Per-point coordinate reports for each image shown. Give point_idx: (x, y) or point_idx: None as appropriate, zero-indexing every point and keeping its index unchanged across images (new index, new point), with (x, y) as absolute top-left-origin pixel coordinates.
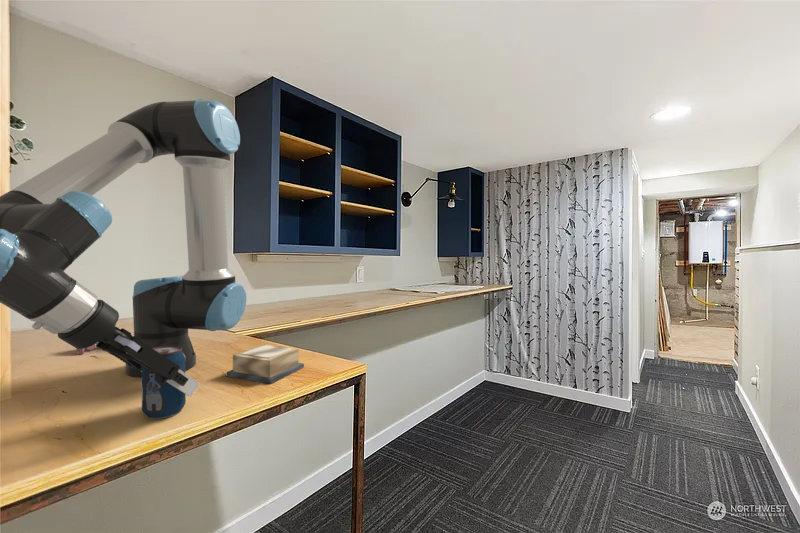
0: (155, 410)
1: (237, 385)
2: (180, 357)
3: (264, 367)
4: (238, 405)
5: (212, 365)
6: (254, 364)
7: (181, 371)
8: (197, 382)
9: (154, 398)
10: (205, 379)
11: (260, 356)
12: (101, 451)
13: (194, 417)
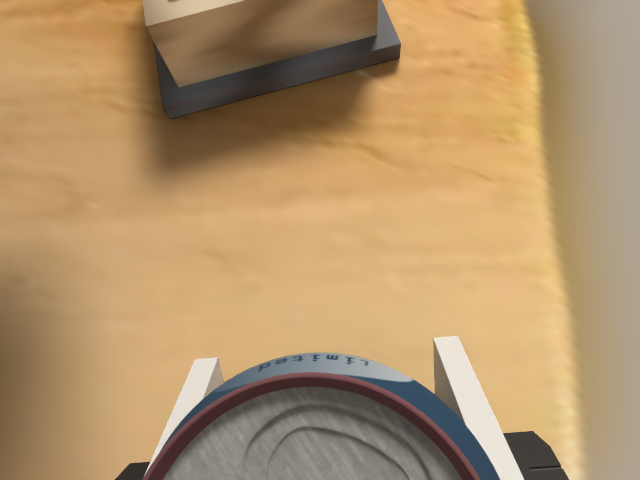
0: None
1: (303, 138)
2: (482, 455)
3: (346, 7)
4: (518, 237)
5: (4, 97)
6: (288, 16)
7: (518, 473)
8: (465, 353)
9: None
10: (125, 186)
11: None
12: None
13: (508, 424)
